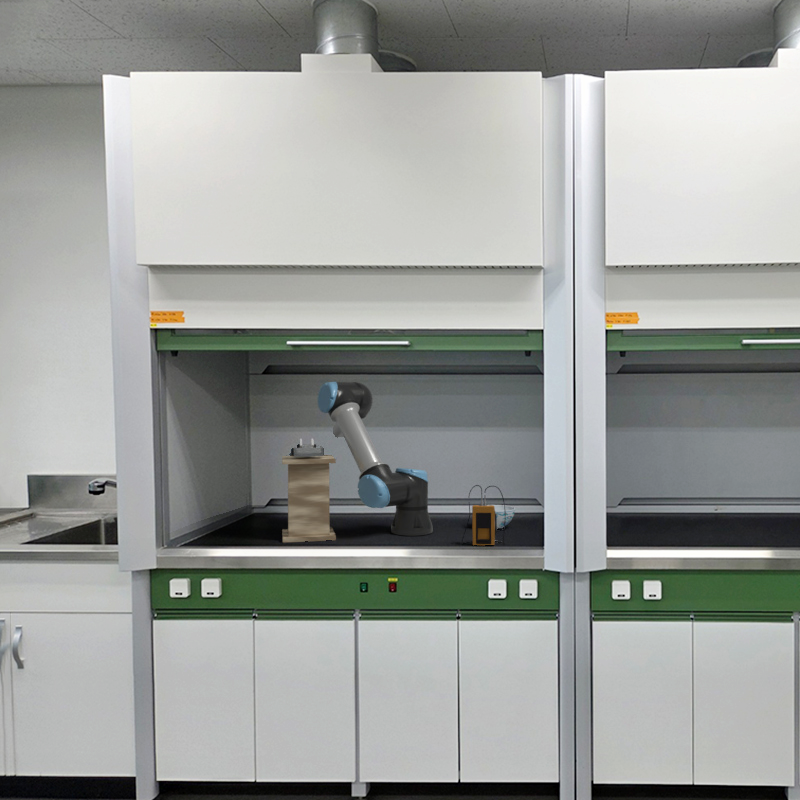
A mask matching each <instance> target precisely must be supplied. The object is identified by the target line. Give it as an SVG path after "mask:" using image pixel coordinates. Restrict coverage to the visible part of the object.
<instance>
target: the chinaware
mask: <svg viewBox="0 0 800 800" xmlns="http://www.w3.org/2000/svg"><path fill="white" fill-rule="evenodd" d="M492 505H493V506H494V507H495V514H496V520H497V529H498V528H503V527H504V522H505V527H506V526H507V525H509V523H510V522H511V521H512V520H513V519H514V516H515V512H516V507H514V506H511V505H506V504H505V509H504V504H503V505H502V504H492ZM505 513H506V517H505Z"/></svg>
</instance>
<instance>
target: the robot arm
mask: <svg viewBox="0 0 800 800" xmlns="http://www.w3.org/2000/svg"><path fill="white" fill-rule="evenodd" d="M317 395H318V396H317V407H318V409H319V410H320V412H321V413H324V414H328V415H329V417H330V420H331V422H334V424H335V425H334V424H333V425H334V427H333V434H334V435H335V437H337V438H338V437H344V438H345V440H344V441H345V443H346V444H347V447H348V448H349V451H350V453H351V455H352V457H353V458H354V462H355V463H356V466H357V468H358V470H359V472H360V474H359V476H358V480H359V481H358V483H357V488H358V490H357V494H358V496H359V498H360V501H361V502H362V503H363V504H364V505H365V506H366V507H368V508H371V509H383V508H387V507H393V506H394V507H395V513H394V515H393V519H392V522H391V526H390V528H391V529H390V530H391V531H390V532H391V533H392V534H394V535H398V536H406V537H407V536H409V537H410V536H417V537H418V536H426V535H431V534H432V533H433V532H434V531H433V527H434V526H433V523H432V520H431V517H430V514H429V509H428V506H429V505H428V504H429V503H428V502H429V501H428V497H429V491H428V490H429V481H428V473H427V472H426V470H424V469H415V468H413V469H412V468H403V467H397V468H395V472H392V469H391V468H390V466H389V464H388V463H386V462H383V461H382V459H381V457H380V455H379V453H378V451H377V448H376V446H375V445H374V443H373V441H372V438H371V437H370V434H369V432H368V429H367V428H366V426H365V424H364V421H363V419H365V418H366V417H367V416H368V414H369V412H370V411H371V409H372V406H373V401H374V399H373V394H372V391H371V390H370V389H369V387H368V386H367V385H365V384H364V383H361V382H357V381H356V382H355V381H353V382H351V381H349V382H347V381H326V382H325V383H323V384H322V385H321V387H320V388H319V391H318V394H317ZM335 422H336V423H335ZM310 440H311V441H310V445H311V446H312V447H313V448H316V447H317V444H316V443H314V442H315V441H314V438H311V439H310ZM299 443H300V444H298V445H297V448H302V445H303V438H299ZM289 455H290V456H294V448H292V449H291V453H290V454H289Z"/></svg>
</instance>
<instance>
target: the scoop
mask: <svg viewBox="0 0 800 800" xmlns="http://www.w3.org/2000/svg"><path fill="white" fill-rule="evenodd" d="M314 456H324V448H323V447H322V446H320V448H313V447H312V446H311V443H310V444H302V448H296V447H294V457H314Z"/></svg>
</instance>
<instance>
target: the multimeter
mask: <svg viewBox="0 0 800 800" xmlns="http://www.w3.org/2000/svg"><path fill="white" fill-rule="evenodd" d="M475 487H479V488H480V489H481V490H480V493H481V496H480V498H481V499H480V505H479V504H478V505H477V504H474V505H472V506H470V505H471V504H470V503H468V509H469V513H472V514H469V516H468V519H467V522H466V526H465V529H464V533H463V536H462V539H461V543H460V546H462V545H464V544H463V543H464V542H463V540H464V538H465V535H466V531H467V528H468V525H469V521H470V519H471V518H470V517H472V519H471V520H472V521H471V522H472V523H471V524H472V527H471V529H472V545H473V546H474V545H477V546H485V545H494V546H495V543H496V542H495V541H497V540H496V536H497V531H498V530H497V520H496V514H495V507H494V506H493V505H494V504H487V500H486V499H487V498H486V496H484V498H483V489H482V486H481V485H478V484H476V485H474V486H472V487H471V489H470V490H469V493H468V497H470V494H471V492H472V490H473V489H474V488H475ZM491 487H492V488H496V489H498V490H499V492H500V495H501V496H502V502H503V505H504V509H505V505H506V503H505V500H504V496H503V493H502V491H501V490H500V488H499V487H498V486H496V485H489V486H487V487H486V488H485V489H484V492H486V491H487V490H488V488H491ZM483 499H484V501H483ZM471 507H472V509H471ZM471 510H472V512H471ZM471 515H472V516H471ZM505 517H506V513H505ZM505 527H506V526H505V522H504V529H503V533H506V528H505ZM502 539H503V540H502V542H503V543H502V544H503V545H505V544H504V543H505V535H503V537H502Z"/></svg>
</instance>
